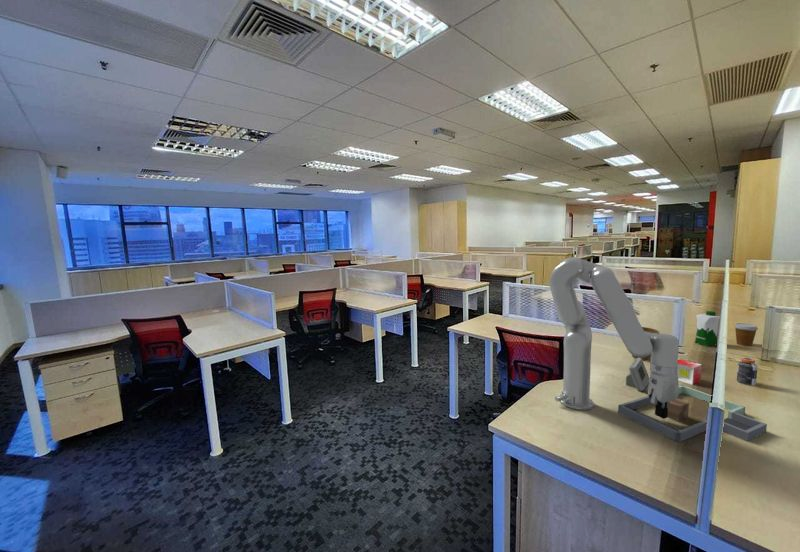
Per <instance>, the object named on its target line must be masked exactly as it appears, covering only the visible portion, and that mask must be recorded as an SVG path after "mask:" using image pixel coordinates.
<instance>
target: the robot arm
mask: <svg viewBox="0 0 800 552" xmlns="http://www.w3.org/2000/svg"><path fill="white" fill-rule="evenodd" d="M575 280H578V281H582V282H584V283H587V284H590V285H591V287H592V289H593V291H594V292H595V294H596V296H597V298H598V299H599V301H600V303H601V305H602V306H603V309H604V310H605V312H606V314H607V316H608V318H609V319H610V321H611V322H612V324H613V326H614V328H615V330H616V332H617V334H618V335H619V338H620V339H621V341H622V343H623V344H624V346H625V348H626V350H627V351H628V352H629V353H630V354H631V356H632V355H634V356H637V357H646V356H648V355H650V354H651V357H650V367H649V372H650V374H649V382H648V384H647V386H648V387H647V396H648V397H649V398H651V404H652V405H654V407H655V408H654V415H655V416H657V417H659V418H661V419H663V420H665V419H667V418H668V417H667V416H668V408H667V407H669V402H670V401H671V400H674V399H679V395H680V394H679V386H680V385H679V381H678V375H677V367H678V360H679V347H680V341H679V339H678V337H676V336H675V335H672V334H669V333H668V334H667V333H659V334H655V333H650V332H645V331H644V330H643V328H642V327H643V326H642V324H641V323H640V321H639V319H638V317H637V315H636V312H635V309H634V307H633V304H632V302H631V301H630V299H629V297H628V295H627V294H626V292H625V291H624V289H623V286H622V284H620V282H619V280H618V279H617V277H616V274H615V272H614V271H613V269H611V268H609V267H607V266H603V265H600V264H598V263H594V262H591V261H588V260H585V259H582V258H579V257H574V256H573V257H567V258H566V259H564V260H562V261H561V262H560V263H558V265H557V266H555V268H553V270H552V272H551V273H550V277H549V283H548V284H549V288H550V292H551V296H552V301H553V303H554V307H555V310H556V313H557V317H558V320H559V321H560V323H562V324H563V325H564V328H565V333H564V337H563V385H562V387H563V388H562V391H561V394H560V395H558V396H555V397H554V400H555V402H557V403H558V402H560V403H561V404H562V405H563V406H565V407H567V408H570V409H572V410H573V409H574V410H579V411H588V410H591V409H593V407H594V406H595V404H594V401H593V400H592V399H591V398H590V391H591V389H590V388H591V364H592V362H591V358H592V356H591V355H592V340H593V333H592V332H593V331H592V328H591V326H590V322H589V318H588V316H587V312H586V309H585V306H584V305H583V303H581V302H580V301H579V300H578V298H577V294H576V290H575V288H574V281H575Z"/></svg>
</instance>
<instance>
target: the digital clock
mask: <svg viewBox="0 0 800 552" xmlns="http://www.w3.org/2000/svg"><path fill="white" fill-rule="evenodd" d="M628 369H629V373H628V374H627V375H626V377H625V386H628V387H632V388H635V389H636V390H637V391H639V392H643V391H644V390H645V389H646V387H647V386H648V385H649V378H650V375H649V373H648V371H647V368H646V365H645V364H644V360H642V359H641V358H634V360H633V362H631V365H630V366H629V367H628Z"/></svg>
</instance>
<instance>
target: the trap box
mask: <svg viewBox="0 0 800 552" xmlns="http://www.w3.org/2000/svg"><path fill="white" fill-rule="evenodd" d="M681 394H684V395H687V396H689V397H693V398H696V399H698V400H701V401H703V400H705V401H704V402H706V401H707V402H706V403H709V404H711V403H710V401H711V396H713V395H711V394H710V393H709V394H708V393H706V392H703V391H701V390H698V389H694V388H692V387H689V386H686V385H684V384H680V385H679V394H678V395H681ZM724 400H725V408H724V409H726V410H728V409H730V410H728V411H727V417H726V418H724V427H723V431H722V432H724V433H726V434H729V435H730V434H731V436H733V437H736V438H738V439H740V440H742V441H745V442H749V441H751V440H753V439H755V438H757V437H759V436H761V435H760V434H762V435H764V434H766V433H767V428H768V427H767V426H768V424H767V423H765V422H762V421H759V420H756V419H755V418H751V417H749V416H746V415H745V414H746V406H743V405H741V404H738V403H735V402H732V401H729V400H727V399H724ZM651 404H652V403H651V398H649V397H648V395H646V396H642V397H640V398H637V399H633V400H631V401H627V402H624V403H620V404H618V406H617V407H618V409H617V413H619V414H621V415H623V416H625V417H627V418H629V419H630V420H633V421H635V422H637V423H639V424H641V425H643V426H645V427H647V428H649V429H650V430H653V431H655V432H657V433H659V434H661V435H663V436H665V437H667V438H669V439H672V440H673V441H675V442H677V443H680V442H682V441H685V440H687V439H690V438H693V437H695V436H696V434H697V435H699V434H698V433H700V432H702V431H704V432H706V424H707V419H706V420H702V421H700V422H698V423H695V424H693V425H690V426H688V427H685V428H683V429H680V430H679V429H677V428H675V427H674V426H671V425H669V424H667V423H665V422H662V421H661V420H659V419H656V418H654V417H652V416H649V415H648V414H646V413H643V412H641V411H639V410H637V409H639V408H642V407H645V406H647V405H651ZM765 432H766V433H765ZM702 433H703V432H702ZM763 433H764V434H763ZM700 434H701V433H700ZM694 435H695V436H694ZM758 435H759V436H758ZM756 436H757V437H756ZM752 438H753V439H752Z"/></svg>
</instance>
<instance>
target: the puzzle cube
mask: <svg viewBox="0 0 800 552" xmlns="http://www.w3.org/2000/svg"><path fill="white" fill-rule="evenodd" d="M702 368H703V365H702V363H696V362H694V361H690V360H685V359H682V358H678V367H677V375H678V382H682V383H686V384H688V385H692V386H693V385H696V384H698V383H699V382H701V380H702V379H701V378H702Z"/></svg>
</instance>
